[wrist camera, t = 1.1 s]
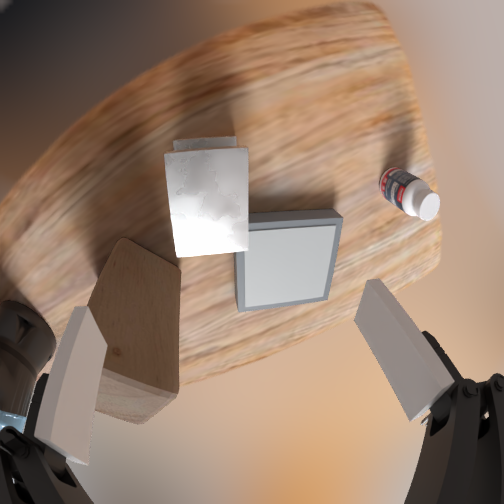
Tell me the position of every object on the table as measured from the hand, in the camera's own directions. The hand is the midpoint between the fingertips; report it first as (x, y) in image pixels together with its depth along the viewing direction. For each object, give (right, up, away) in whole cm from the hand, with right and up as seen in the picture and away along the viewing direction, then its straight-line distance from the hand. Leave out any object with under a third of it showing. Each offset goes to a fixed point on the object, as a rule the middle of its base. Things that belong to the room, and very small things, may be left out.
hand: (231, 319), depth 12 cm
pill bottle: (+22, +13, +24) cm, 35 cm away
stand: (+5, +2, +27) cm, 28 cm away
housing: (-4, +12, +19) cm, 23 cm away
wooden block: (-15, 0, +25) cm, 29 cm away
